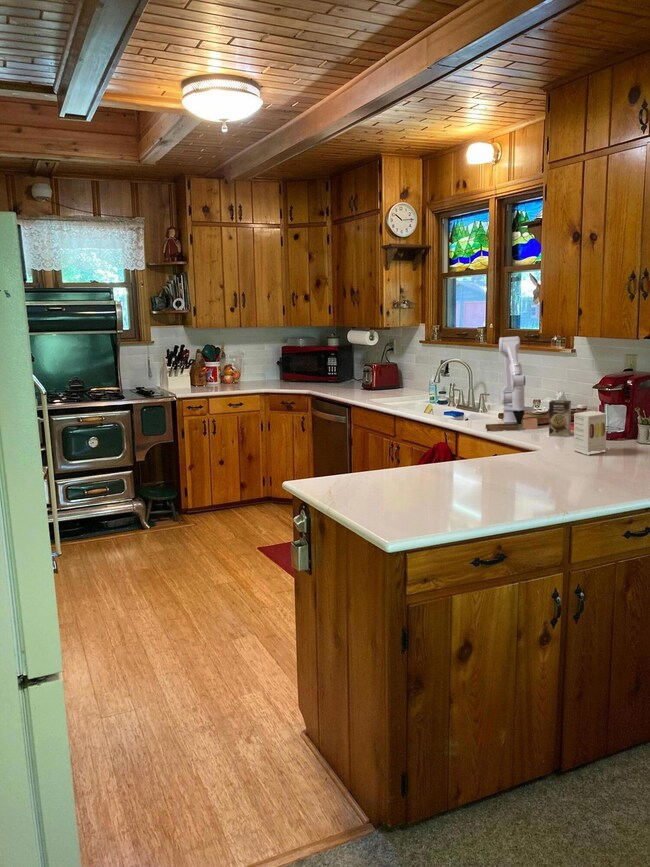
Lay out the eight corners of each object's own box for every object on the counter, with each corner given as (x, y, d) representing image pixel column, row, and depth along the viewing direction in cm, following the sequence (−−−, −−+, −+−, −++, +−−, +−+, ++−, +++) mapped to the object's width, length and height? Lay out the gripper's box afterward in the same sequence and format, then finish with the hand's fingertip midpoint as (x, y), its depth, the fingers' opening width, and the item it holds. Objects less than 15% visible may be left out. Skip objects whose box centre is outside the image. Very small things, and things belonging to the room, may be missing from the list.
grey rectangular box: (548, 436, 328) (548, 402, 325) (551, 433, 334) (550, 399, 330) (569, 436, 324) (568, 402, 320) (571, 433, 329) (571, 400, 326)
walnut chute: (485, 428, 355) (485, 423, 354) (519, 426, 352) (519, 421, 352) (487, 431, 347) (486, 426, 347) (521, 430, 345) (521, 424, 344)
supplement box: (587, 456, 289) (587, 416, 286) (573, 451, 298) (573, 413, 294) (606, 452, 292) (607, 413, 289) (591, 448, 301) (591, 410, 297)
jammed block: (521, 427, 350) (521, 418, 349) (536, 426, 349) (535, 418, 348) (522, 429, 346) (522, 420, 345) (537, 428, 345) (537, 419, 344)
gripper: (504, 401, 343) (504, 428, 346) (534, 399, 341) (535, 426, 343) (502, 398, 350) (503, 425, 352) (532, 397, 347) (533, 423, 350)
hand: (518, 425), depth 348 cm, fingers closed
